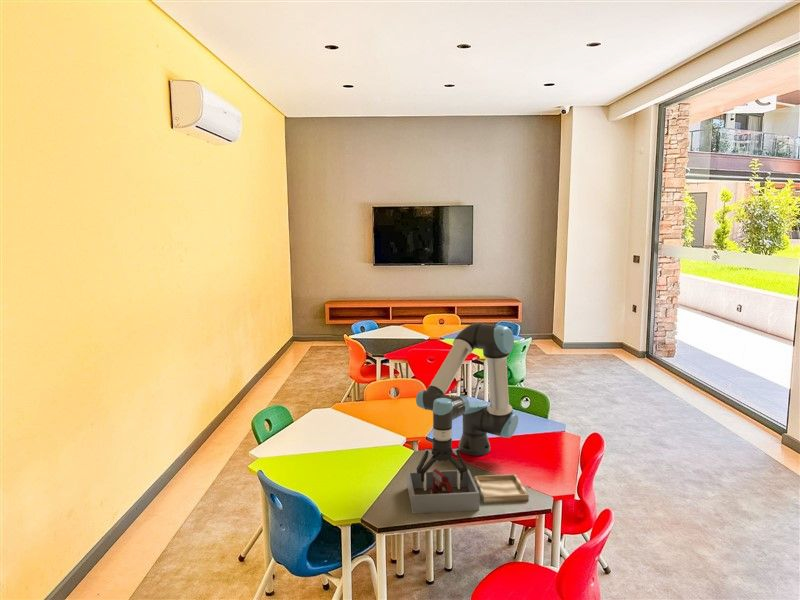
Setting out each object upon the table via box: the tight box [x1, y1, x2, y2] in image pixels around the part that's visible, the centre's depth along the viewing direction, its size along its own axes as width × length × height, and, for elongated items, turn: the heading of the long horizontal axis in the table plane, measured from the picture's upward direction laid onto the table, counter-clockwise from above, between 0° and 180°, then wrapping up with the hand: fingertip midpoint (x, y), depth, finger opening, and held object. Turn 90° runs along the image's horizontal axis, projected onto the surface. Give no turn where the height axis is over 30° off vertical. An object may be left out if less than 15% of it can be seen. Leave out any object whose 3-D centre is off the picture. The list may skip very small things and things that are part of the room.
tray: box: [473, 473, 530, 504], centre depth 227 cm, size 18×18×2 cm
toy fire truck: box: [428, 468, 455, 494], centre depth 221 cm, size 7×12×10 cm, turn 29°
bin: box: [406, 468, 481, 514], centre depth 221 cm, size 20×26×7 cm
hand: (441, 488), depth 220 cm, fingers open, 13 cm apart
